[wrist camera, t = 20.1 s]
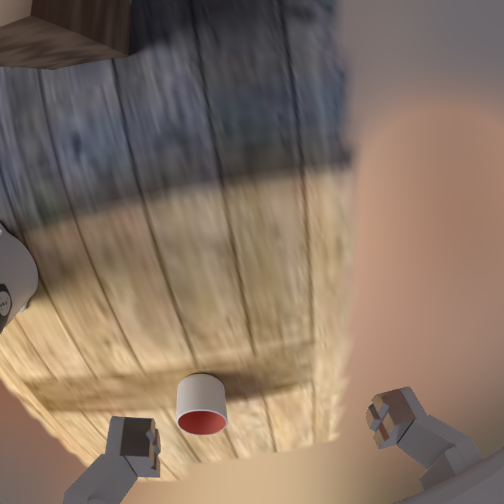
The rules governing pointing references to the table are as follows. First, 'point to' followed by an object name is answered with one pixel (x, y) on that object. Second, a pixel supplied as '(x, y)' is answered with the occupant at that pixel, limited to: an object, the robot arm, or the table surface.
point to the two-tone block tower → (62, 32)
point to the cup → (201, 405)
